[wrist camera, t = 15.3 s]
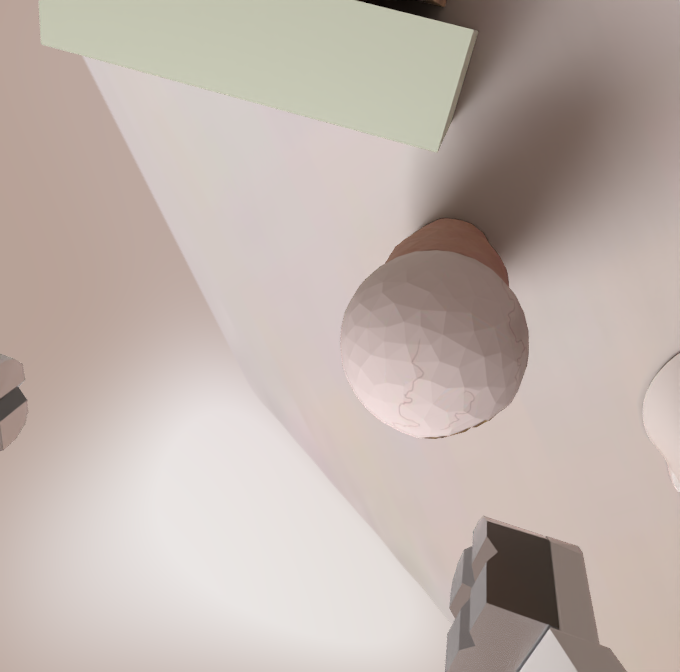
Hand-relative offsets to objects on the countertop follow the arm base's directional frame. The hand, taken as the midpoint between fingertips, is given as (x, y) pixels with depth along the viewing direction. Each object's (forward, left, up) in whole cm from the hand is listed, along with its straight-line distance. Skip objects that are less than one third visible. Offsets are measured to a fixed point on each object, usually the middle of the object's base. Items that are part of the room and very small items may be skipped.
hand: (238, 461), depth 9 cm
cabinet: (+11, -7, -37) cm, 39 cm away
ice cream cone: (-4, +9, -37) cm, 39 cm away
